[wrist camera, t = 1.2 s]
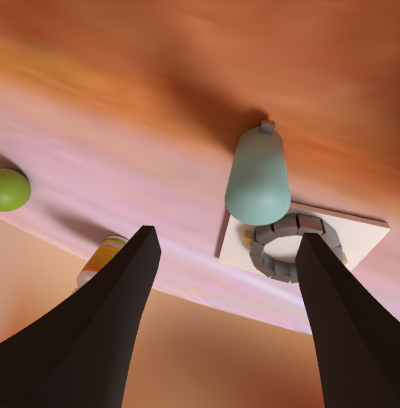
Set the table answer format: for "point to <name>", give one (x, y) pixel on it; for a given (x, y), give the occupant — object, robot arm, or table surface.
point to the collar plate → (297, 240)
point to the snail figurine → (13, 189)
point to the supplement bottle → (100, 258)
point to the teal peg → (258, 177)
